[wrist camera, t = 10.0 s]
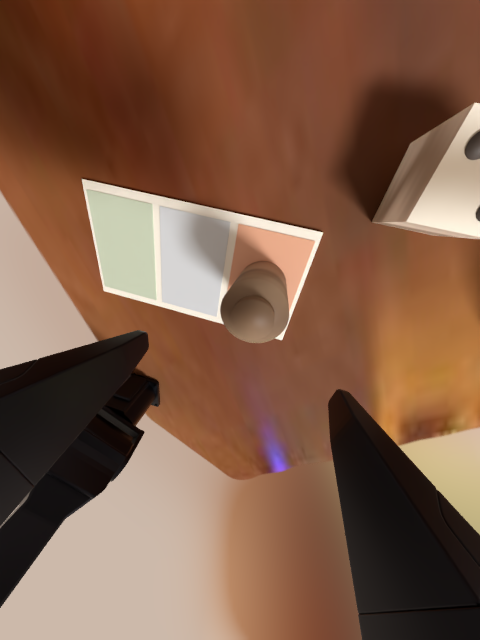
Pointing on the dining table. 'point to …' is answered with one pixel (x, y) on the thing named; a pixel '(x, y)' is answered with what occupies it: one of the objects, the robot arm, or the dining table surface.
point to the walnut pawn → (257, 303)
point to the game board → (187, 249)
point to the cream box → (438, 181)
